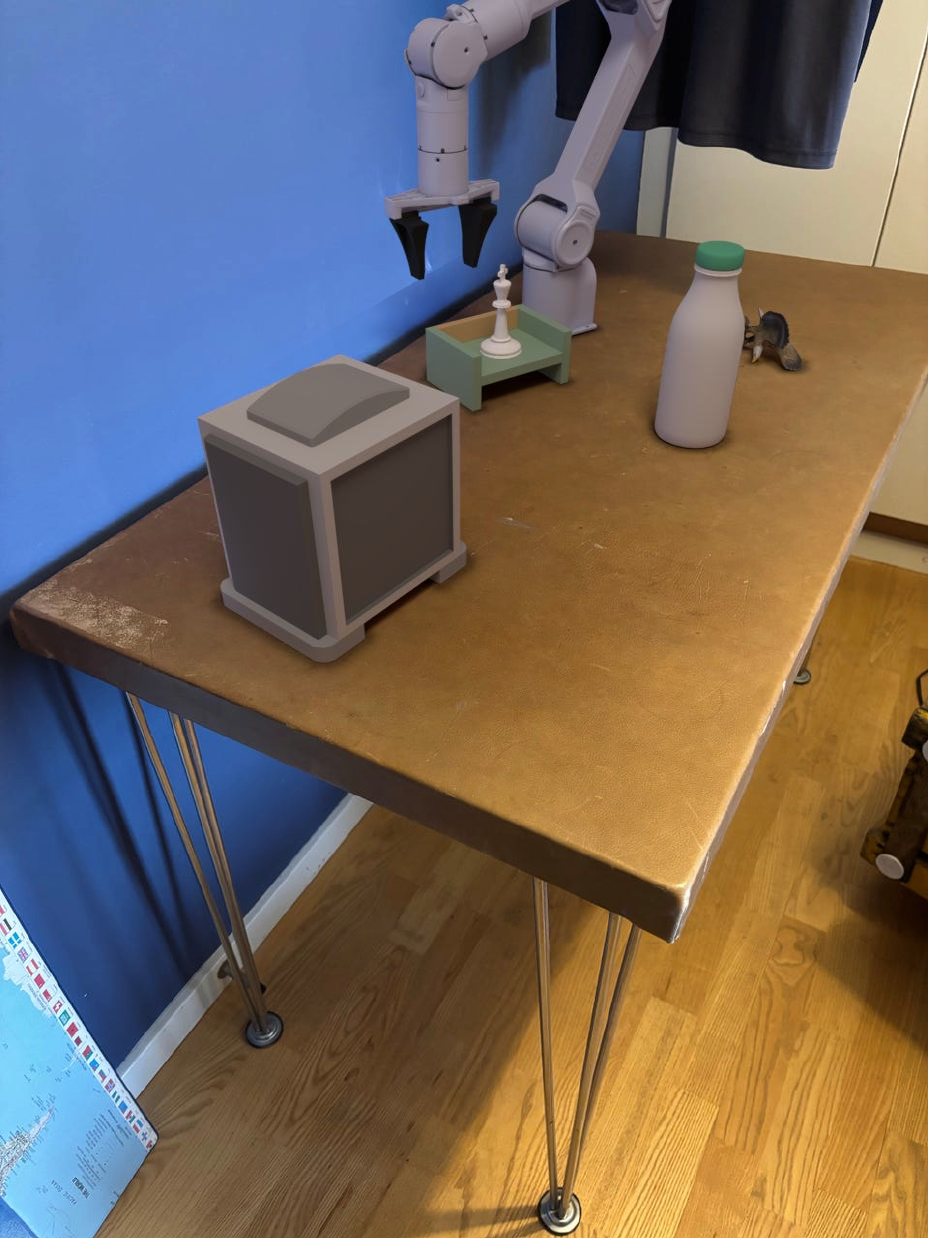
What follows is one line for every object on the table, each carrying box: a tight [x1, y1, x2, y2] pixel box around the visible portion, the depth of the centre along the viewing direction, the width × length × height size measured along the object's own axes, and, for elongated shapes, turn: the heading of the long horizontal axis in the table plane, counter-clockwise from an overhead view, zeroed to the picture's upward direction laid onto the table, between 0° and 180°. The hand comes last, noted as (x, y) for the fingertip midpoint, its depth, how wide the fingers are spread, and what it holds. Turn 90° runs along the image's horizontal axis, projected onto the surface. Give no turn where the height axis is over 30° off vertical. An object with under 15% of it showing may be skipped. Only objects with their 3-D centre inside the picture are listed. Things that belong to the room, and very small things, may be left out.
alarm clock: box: [196, 353, 468, 664], centre depth 74 cm, size 18×13×18 cm
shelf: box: [425, 303, 573, 412], centre depth 109 cm, size 14×10×6 cm
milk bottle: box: [654, 240, 746, 449], centre depth 94 cm, size 8×8×20 cm
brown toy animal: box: [742, 307, 803, 372], centre depth 114 cm, size 8×7×9 cm
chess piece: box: [480, 263, 522, 359], centre depth 105 cm, size 5×5×10 cm
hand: (444, 271), depth 110 cm, fingers open, 7 cm apart
